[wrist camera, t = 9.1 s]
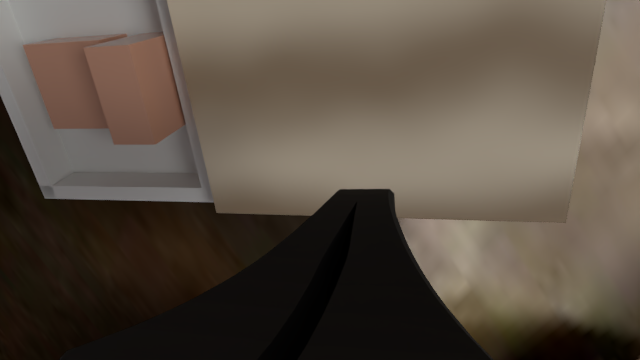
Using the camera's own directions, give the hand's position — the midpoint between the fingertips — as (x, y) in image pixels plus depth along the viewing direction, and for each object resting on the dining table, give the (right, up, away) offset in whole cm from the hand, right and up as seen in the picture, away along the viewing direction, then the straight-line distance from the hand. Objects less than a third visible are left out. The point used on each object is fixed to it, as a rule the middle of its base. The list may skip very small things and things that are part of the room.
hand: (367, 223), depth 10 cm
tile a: (-8, +5, +8) cm, 12 cm away
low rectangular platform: (+1, +6, +8) cm, 11 cm away
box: (-11, +7, +11) cm, 17 cm away
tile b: (-13, +5, +9) cm, 16 cm away
